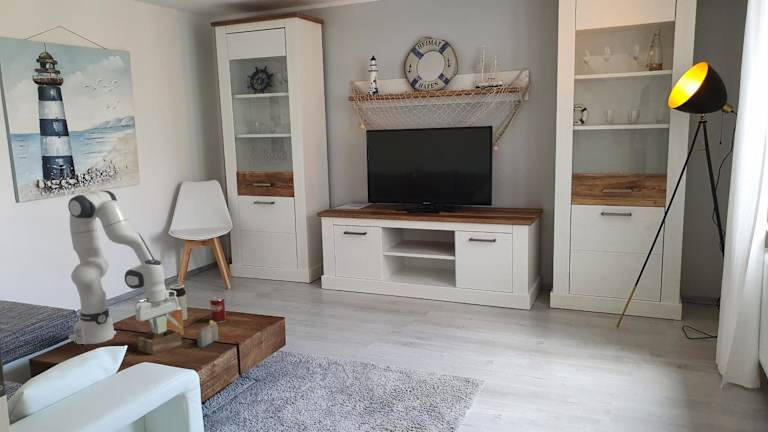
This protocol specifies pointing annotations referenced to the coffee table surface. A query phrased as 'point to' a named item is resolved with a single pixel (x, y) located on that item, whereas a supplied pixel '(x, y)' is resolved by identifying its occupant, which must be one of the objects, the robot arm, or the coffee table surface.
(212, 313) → the soda can
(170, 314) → the small box
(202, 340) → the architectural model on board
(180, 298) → the travel mug
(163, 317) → the sage block
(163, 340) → the crate
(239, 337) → the coffee table surface
